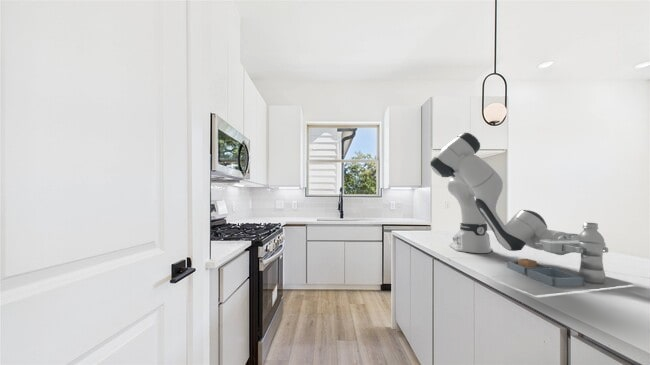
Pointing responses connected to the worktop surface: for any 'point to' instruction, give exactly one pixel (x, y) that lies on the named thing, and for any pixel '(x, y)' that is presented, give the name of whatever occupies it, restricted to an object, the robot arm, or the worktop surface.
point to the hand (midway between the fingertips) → (593, 250)
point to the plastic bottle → (591, 254)
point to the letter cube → (527, 263)
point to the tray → (555, 277)
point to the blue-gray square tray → (521, 269)
